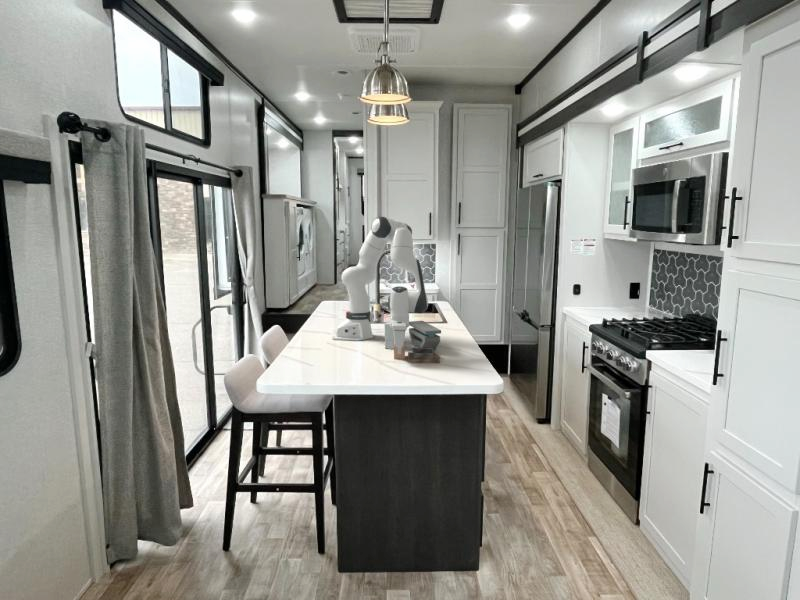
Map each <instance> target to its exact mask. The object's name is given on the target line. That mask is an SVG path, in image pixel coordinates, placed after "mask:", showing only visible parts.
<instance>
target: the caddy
mask: <svg viewBox="0 0 800 600" xmlns="http://www.w3.org/2000/svg"><path fill="white" fill-rule="evenodd" d="M411 350H412V351H408V352H407V356H408V357H407V358H408V359H407V360H408V363H409V362H410V363H409V364H422V363H423V364H440V363H441V359H440V356H439V352H437V351H435V349H434V348H416V347H412V349H411ZM408 363H407V364H408Z"/></svg>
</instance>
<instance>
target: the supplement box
mask: <svg viewBox="0 0 800 600" xmlns="http://www.w3.org/2000/svg"><path fill="white" fill-rule="evenodd" d="M384 348H389V350H390V349H391V350H394V332H393V330H392V328H391V327H390V320H389V321H388V322H385V323H384Z"/></svg>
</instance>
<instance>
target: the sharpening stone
mask: <svg viewBox="0 0 800 600" xmlns="http://www.w3.org/2000/svg"><path fill="white" fill-rule="evenodd" d="M411 327H412V328H411ZM408 333H409V338H410V340H411V344H412V346H413V345H414V346H413V347H414V348H416V347H417V348H434V350H436V349H437V347H438V346H439V344H440V342H441V336H440V335H439V334H442V330H441V329H439V328H438V327H436V326H433V325H432V324H430V323H428V322H426V321H424V320H414V321H413V320H410V321H409V327H408Z"/></svg>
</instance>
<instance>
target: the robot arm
mask: <svg viewBox="0 0 800 600" xmlns="http://www.w3.org/2000/svg"><path fill="white" fill-rule="evenodd" d="M388 242H390V260H391V262H392V264H393V265H394V266H395V267H397V268H399V269H402V270H403V271H406V272H408V273H409V274H412V275H413V277H414V282H415V288H416V291H411V292H409V290H408V288H407V287H405V286H395V287H392V288H391V290H390V295H389V296H388V298H387V301H388V303H387V308H388V309H389V310H390V314H389V321H390V327H391V328H392V330H393V332H394V341H395V346H396V347H397V351H398V354H401V350H402V347H403V346H404V341H405V338H406V337H405V336H406V331H407V328H408V329H409V328H410V325H409V322H410V314H409V313H414V314H423V313H425V312H426V311H427V309H428V306H429V300H428V296H427V294H426V288H425V281H424V276H423V275H424V274H423V271H422V266H421V263H420V261H419V260H418V259H417V258H416V257H415V254H414V241H413V230H412V227H411V226H410V225H408V224H407V223H406V222H405V223H403V222H401V221H399V220H397V219H393V218H389V217H386V216H376V217H375V218H374V219H373V221H372V223H371V226H370V230H369V232H368V234H367V235H366V237H365V239H364V241H363V243H362V245H361V247H360V250H359V253H358V255H359V260H358V263H357V264H356V265H355V266H350V267H348V268H346V269H344V271H343V272H342V273H341V277H340V278H341V281H342V284H343V285H344V286H345V288H346V291H347V294H348V302H349V303H348V304H349V309H348V310H347V311H346V312H345V318H344V319H343V320H342V321H341V322H339V323H338V325H337V326H336V329H335V333H332V334H331V340H334V341H336V340H337V341H355V342H359V341H360V342H361V341H363V340H369V339H373V337H374V335H373V331H372V330H373V329H372V325H371V323H372V312H371V298H370V295H369V294H368V292H367V289H366V286H367V285H370V284H371V283H373V282H374V281H375V280H376V278H377V271H376V270H377V266H378V263H379V260H380V258H381V256H382V255H383V253H384V250H385V247H386V246H387V244H388Z"/></svg>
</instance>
